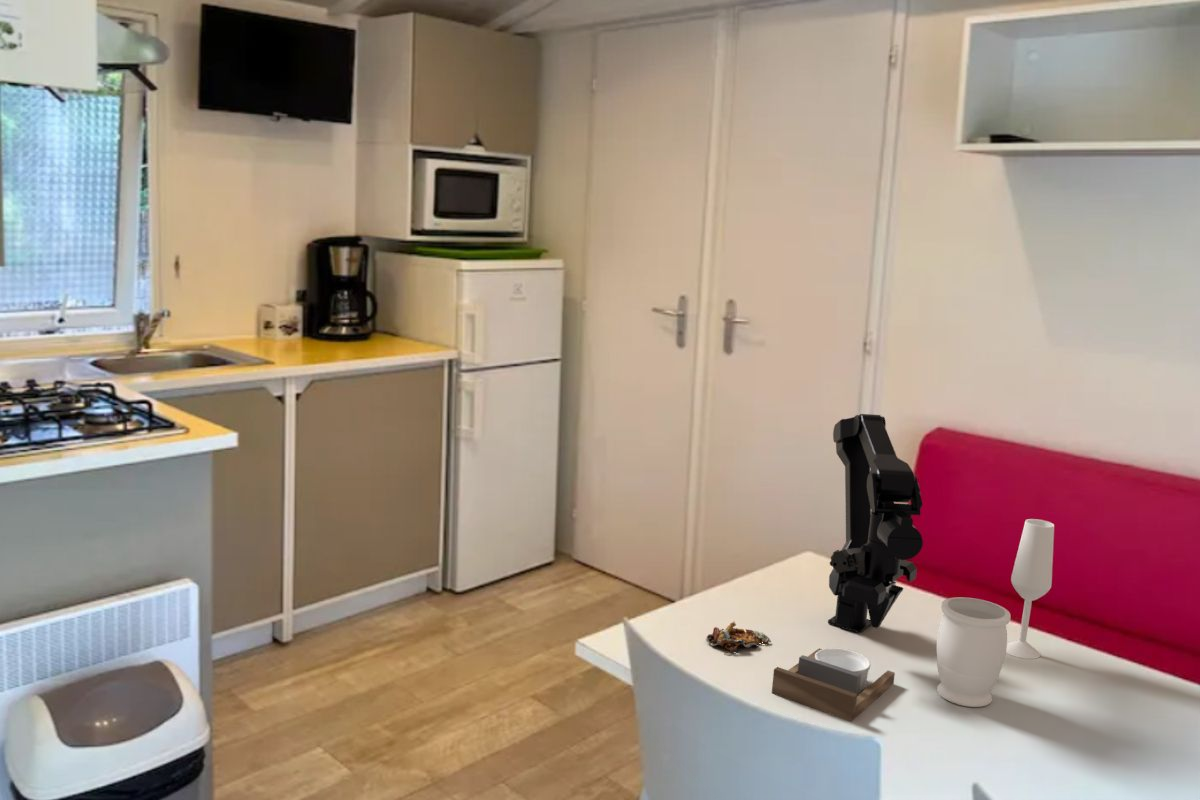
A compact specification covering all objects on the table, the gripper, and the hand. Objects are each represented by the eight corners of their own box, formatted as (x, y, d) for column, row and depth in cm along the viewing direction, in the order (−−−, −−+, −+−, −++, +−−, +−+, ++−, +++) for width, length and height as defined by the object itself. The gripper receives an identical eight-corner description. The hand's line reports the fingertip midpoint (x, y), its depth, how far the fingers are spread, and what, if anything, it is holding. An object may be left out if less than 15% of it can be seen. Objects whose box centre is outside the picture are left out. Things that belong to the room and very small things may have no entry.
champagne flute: (1021, 660, 184) (1040, 530, 179) (992, 645, 190) (1010, 518, 185) (1049, 656, 186) (1069, 527, 182) (1020, 641, 192) (1038, 516, 188)
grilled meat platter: (776, 645, 185) (778, 626, 184) (727, 659, 178) (729, 639, 177) (748, 631, 190) (750, 612, 189) (700, 644, 183) (702, 624, 182)
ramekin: (807, 669, 175) (810, 645, 174) (860, 673, 175) (863, 649, 174) (817, 694, 166) (820, 669, 165) (873, 698, 166) (876, 672, 165)
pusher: (800, 680, 170) (803, 654, 169) (858, 700, 164) (861, 673, 163) (796, 683, 168) (799, 657, 168) (854, 703, 163) (858, 676, 162)
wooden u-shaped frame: (818, 659, 179) (820, 637, 178) (893, 683, 171) (896, 661, 170) (771, 692, 165) (773, 669, 164) (851, 721, 157) (854, 696, 157)
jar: (964, 716, 161) (977, 625, 159) (916, 687, 170) (927, 600, 168) (1012, 705, 166) (1026, 616, 164) (963, 677, 175) (975, 593, 173)
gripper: (862, 518, 188) (852, 600, 191) (817, 540, 174) (808, 629, 176) (922, 532, 182) (911, 617, 185) (882, 557, 167) (871, 648, 170)
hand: (875, 627), depth 179 cm, fingers closed
